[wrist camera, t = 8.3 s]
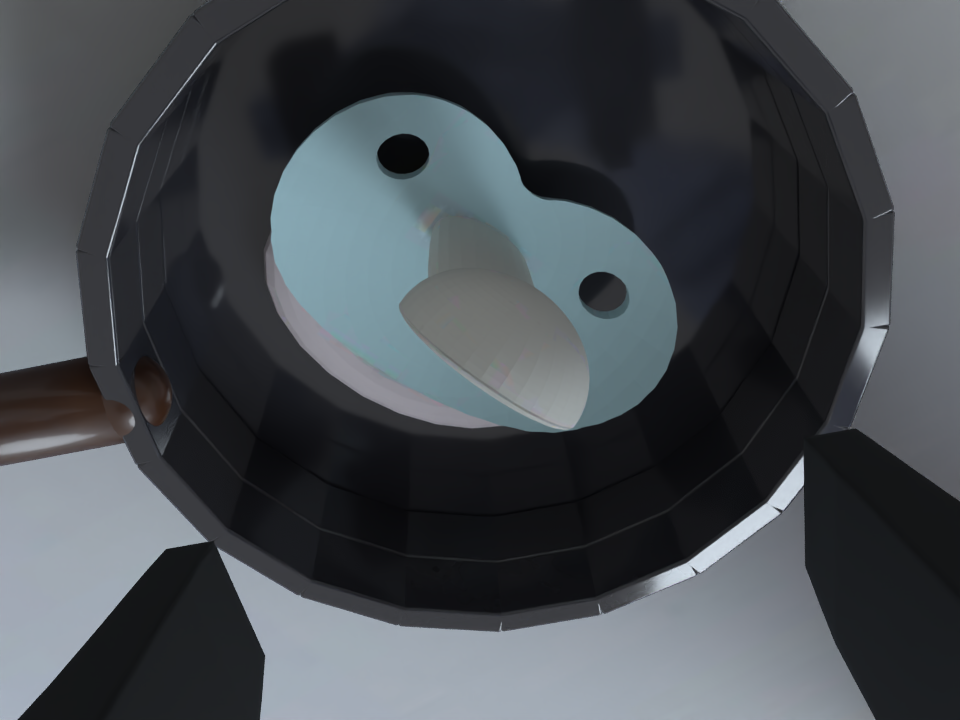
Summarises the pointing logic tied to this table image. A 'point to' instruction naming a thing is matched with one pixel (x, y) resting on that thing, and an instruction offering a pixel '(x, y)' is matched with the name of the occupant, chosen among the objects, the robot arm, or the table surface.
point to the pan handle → (72, 409)
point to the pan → (642, 209)
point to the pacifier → (459, 278)
